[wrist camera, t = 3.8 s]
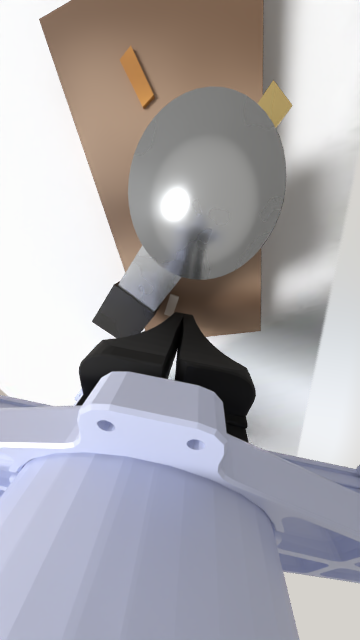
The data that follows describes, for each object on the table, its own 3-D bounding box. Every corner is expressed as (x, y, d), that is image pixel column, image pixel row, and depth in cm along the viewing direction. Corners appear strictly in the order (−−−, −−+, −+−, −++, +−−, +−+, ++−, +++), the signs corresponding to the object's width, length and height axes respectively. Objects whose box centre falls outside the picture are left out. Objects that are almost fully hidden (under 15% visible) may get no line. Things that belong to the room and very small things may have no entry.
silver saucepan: (214, 64, 7) (222, -41, 4) (305, 177, 8) (356, 150, 5) (92, 291, 12) (62, 307, 10) (159, 338, 13) (148, 363, 11)
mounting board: (153, 334, 17) (146, 349, 15) (63, 50, 9) (17, -10, 7) (255, 322, 15) (264, 337, 13) (252, -49, 7) (275, -176, 5)
